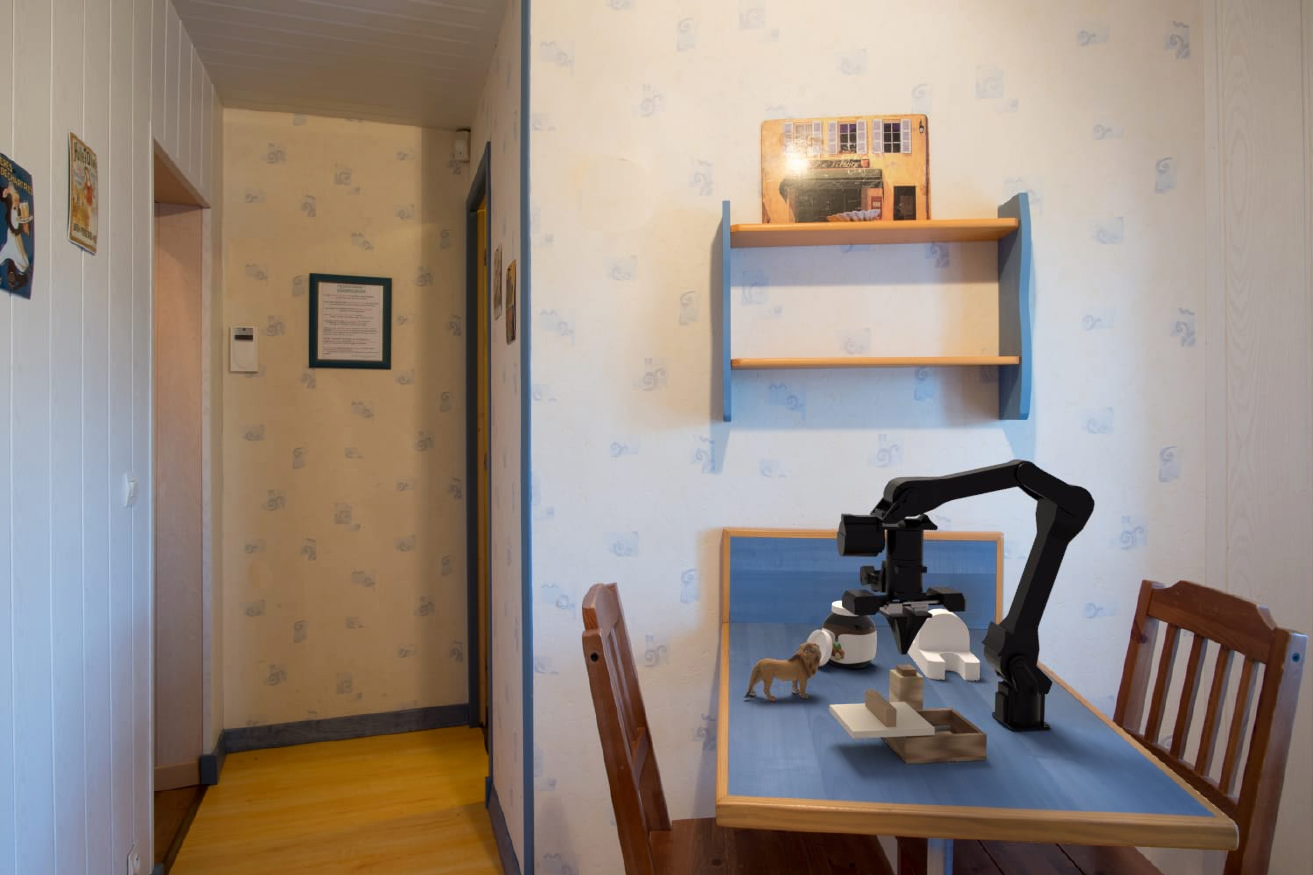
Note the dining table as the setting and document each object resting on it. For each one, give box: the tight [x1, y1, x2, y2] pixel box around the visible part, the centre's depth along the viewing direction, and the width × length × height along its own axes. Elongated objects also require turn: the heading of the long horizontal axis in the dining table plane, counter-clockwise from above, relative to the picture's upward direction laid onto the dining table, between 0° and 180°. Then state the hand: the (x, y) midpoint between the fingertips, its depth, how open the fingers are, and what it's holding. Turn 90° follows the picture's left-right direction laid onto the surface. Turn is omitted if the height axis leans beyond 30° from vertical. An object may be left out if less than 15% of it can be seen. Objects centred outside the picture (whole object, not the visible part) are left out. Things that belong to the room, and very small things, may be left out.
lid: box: [829, 689, 935, 740], centre depth 117 cm, size 12×10×4 cm
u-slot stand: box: [907, 608, 981, 682], centre depth 156 cm, size 10×18×11 cm, turn 176°
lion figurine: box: [743, 641, 822, 702], centre depth 139 cm, size 15×5×9 cm, turn 109°
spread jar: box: [806, 600, 878, 669], centre depth 156 cm, size 12×11×12 cm
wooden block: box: [888, 664, 925, 710], centre depth 130 cm, size 4×4×8 cm
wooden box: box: [881, 707, 988, 765], centre depth 118 cm, size 12×10×4 cm
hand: (902, 653), depth 127 cm, fingers closed
